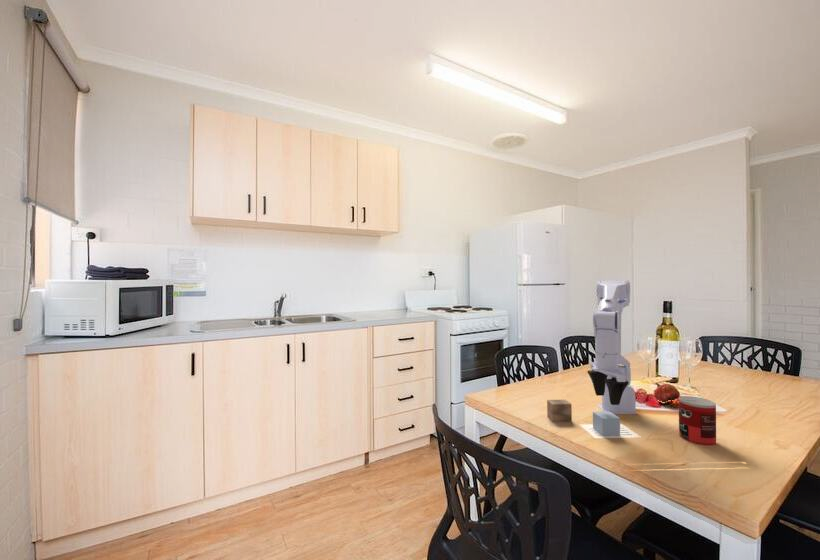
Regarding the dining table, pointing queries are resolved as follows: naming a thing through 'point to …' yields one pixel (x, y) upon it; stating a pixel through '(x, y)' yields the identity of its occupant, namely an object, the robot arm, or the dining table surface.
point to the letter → (624, 433)
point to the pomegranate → (666, 392)
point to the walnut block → (559, 410)
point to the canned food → (697, 420)
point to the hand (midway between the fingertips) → (607, 399)
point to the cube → (606, 423)
